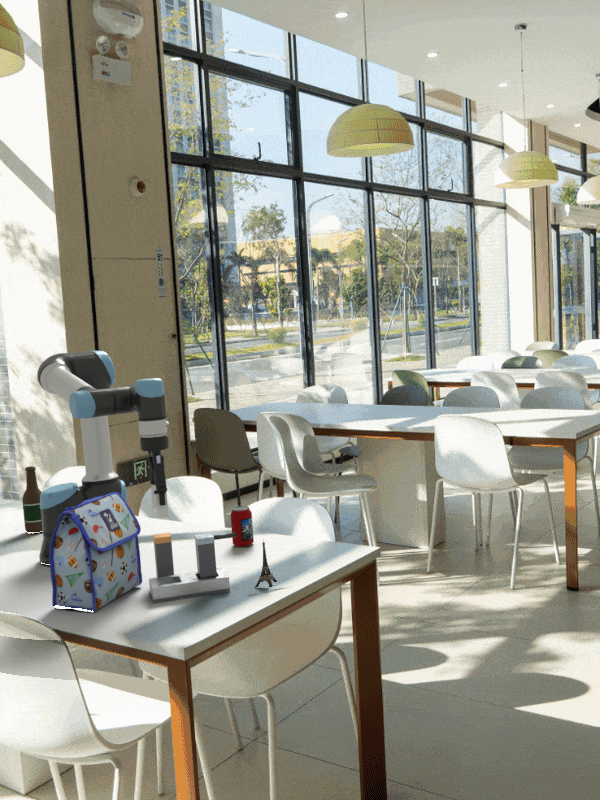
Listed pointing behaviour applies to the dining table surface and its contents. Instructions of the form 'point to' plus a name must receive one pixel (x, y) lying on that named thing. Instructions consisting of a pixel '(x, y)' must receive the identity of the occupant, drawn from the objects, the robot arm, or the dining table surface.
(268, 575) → the eiffel tower figurine
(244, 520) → the beverage can
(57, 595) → the lunch bag
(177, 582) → the pdu strip
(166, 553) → the plug
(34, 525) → the beer bottle
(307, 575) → the dining table surface
